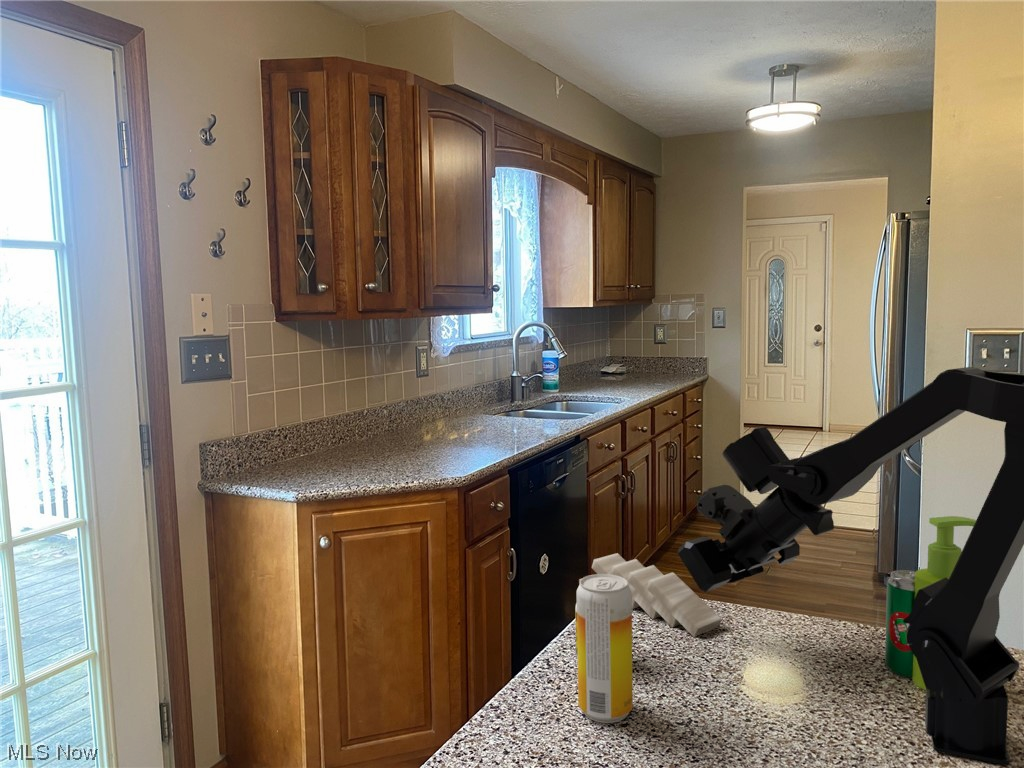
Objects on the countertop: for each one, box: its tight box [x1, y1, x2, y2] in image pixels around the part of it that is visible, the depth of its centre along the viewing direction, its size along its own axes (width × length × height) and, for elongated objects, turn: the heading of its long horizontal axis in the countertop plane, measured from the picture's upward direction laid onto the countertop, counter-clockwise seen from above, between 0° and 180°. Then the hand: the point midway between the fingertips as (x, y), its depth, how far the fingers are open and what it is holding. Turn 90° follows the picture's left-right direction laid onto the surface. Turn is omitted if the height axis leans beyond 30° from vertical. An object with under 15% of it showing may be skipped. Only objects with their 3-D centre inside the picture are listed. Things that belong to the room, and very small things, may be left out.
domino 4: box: [646, 571, 722, 638], centre depth 107 cm, size 2×5×10 cm
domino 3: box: [627, 564, 682, 628], centre depth 110 cm, size 2×5×10 cm
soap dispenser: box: [911, 515, 977, 691], centre depth 87 cm, size 6×7×20 cm
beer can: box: [576, 573, 634, 724], centre depth 84 cm, size 6×6×15 cm
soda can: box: [884, 569, 917, 679], centre depth 91 cm, size 5×5×12 cm
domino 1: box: [591, 552, 641, 610], centre depth 117 cm, size 2×5×10 cm
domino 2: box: [610, 558, 662, 620], centre depth 113 cm, size 2×5×10 cm
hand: (705, 582), depth 103 cm, fingers closed
